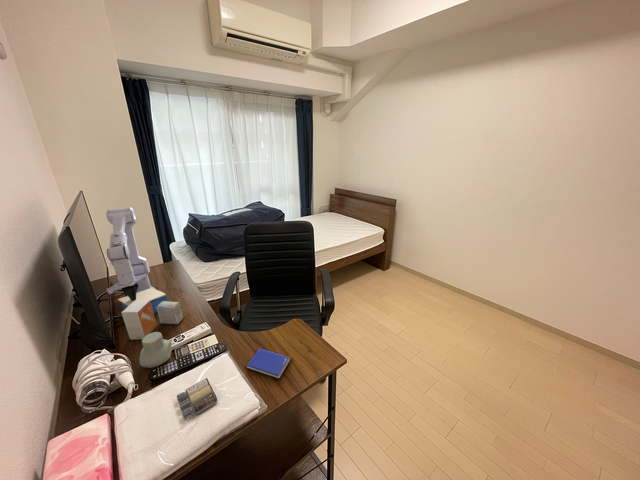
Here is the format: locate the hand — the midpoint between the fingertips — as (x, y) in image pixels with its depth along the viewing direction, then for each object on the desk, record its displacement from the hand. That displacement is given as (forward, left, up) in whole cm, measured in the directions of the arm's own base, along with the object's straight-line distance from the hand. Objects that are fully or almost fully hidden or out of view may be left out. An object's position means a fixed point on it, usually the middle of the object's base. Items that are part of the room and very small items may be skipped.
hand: (133, 299), depth 111 cm
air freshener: (+34, -10, -8) cm, 36 cm away
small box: (+15, -5, -8) cm, 18 cm away
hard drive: (+70, +8, -8) cm, 71 cm away
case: (0, +4, -8) cm, 9 cm away
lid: (0, +4, -1) cm, 4 cm away
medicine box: (+18, +5, -8) cm, 20 cm away
